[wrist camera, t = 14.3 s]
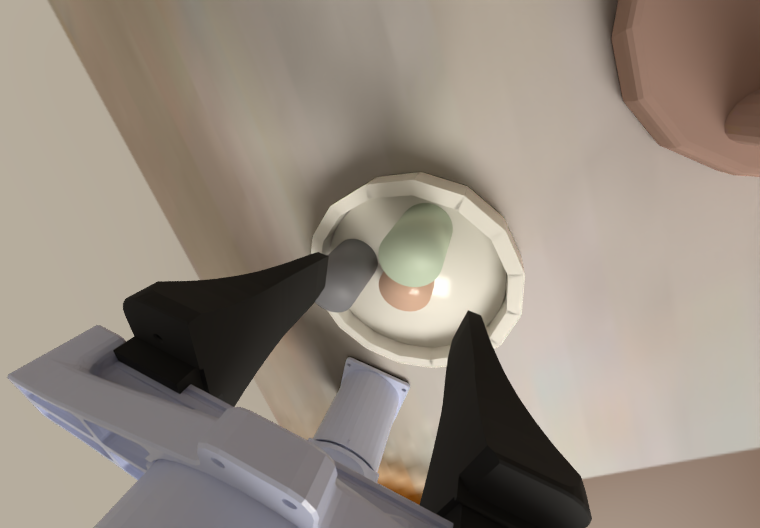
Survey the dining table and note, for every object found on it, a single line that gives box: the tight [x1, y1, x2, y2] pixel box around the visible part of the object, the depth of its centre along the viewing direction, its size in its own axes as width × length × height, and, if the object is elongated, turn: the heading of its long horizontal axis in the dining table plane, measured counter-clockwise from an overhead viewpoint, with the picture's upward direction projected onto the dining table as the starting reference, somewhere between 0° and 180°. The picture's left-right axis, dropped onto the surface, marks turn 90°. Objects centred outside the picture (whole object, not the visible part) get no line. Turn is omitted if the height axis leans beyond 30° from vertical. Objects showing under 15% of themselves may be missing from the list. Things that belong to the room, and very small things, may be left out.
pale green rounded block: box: [378, 203, 453, 287], centre depth 19 cm, size 4×4×5 cm
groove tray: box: [311, 172, 525, 368], centre depth 23 cm, size 17×17×2 cm
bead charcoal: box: [315, 239, 378, 313], centre depth 22 cm, size 4×4×5 cm
